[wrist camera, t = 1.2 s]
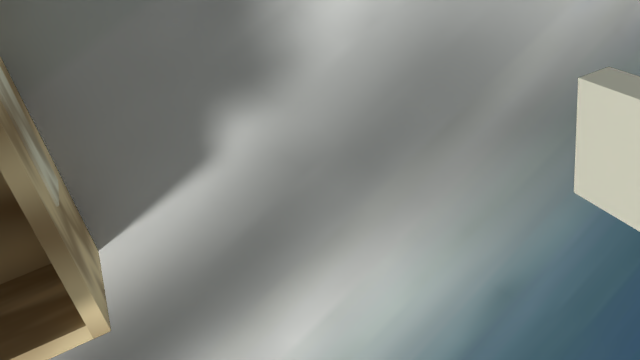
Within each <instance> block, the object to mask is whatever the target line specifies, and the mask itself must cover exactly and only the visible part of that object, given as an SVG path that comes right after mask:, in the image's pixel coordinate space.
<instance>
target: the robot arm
mask: <svg viewBox="0 0 640 360" xmlns="http://www.w3.org/2000/svg"><path fill="white" fill-rule="evenodd" d="M574 193H576V194H577V195H579V196H581V197H583V198H584V199H586V200H588V201H589V202H591V203H593V204H594V205H596V206H598V207H599V208H601V209H603V210H604V211H606V212H608V213H609V214H611V215H613V216H615V217H616V218H618V219H620V220H621V221H623V222H625V223H626V224H628V225H630V226H631V227H633V228H635V229H636V230H638V231H640V76H636V75H633V74H630V73H627V72H624V71H621V70H618V69H614V68H611V67H607V68H604V69H601V70H598V71H596V72H593V73H590V74H587V75H584V76H582V77H579V78H578V99H577V125H576V151H575V177H574Z"/></svg>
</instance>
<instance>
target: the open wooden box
mask: <svg viewBox="0 0 640 360" xmlns="http://www.w3.org/2000/svg"><path fill="white" fill-rule="evenodd" d="M110 331H111V328H110V321H109V315H108V309H107V303H106V296H105V290H104V284H103V278H102V271H101V265H100V259H99V253H98V250H97V248H96V246H95V244H94V242H93V240H92V238H91V236H90V234H89V232H88V230H87V228H86V226H85V224H84V222H83V220H82V218H81V216H80V214H79V212H78V210H77V208H76V206H75V204H74V202H73V200H72V198H71V196H70V194H69V192H68V190H67V188H66V186H65V184H64V182H63V180H62V178H61V176H60V174H59V172H58V170H57V168H56V166H55V164H54V162H53V160H52V158H51V156H50V154H49V152H48V150H47V148H46V146H45V144H44V142H43V140H42V138H41V136H40V134H39V132H38V130H37V128H36V126H35V124H34V122H33V120H32V118H31V116H30V114H29V112H28V110H27V108H26V106H25V105H24V103H23V101H22V99H21V97H20V95H19V93H18V91H17V89H16V87H15V85H14V83H13V81H12V79H11V77H10V75H9V73H8V71H7V69H6V67H5V65H4V63H3V61H2V59H1V57H0V360H48V359H50V358H52V357H55V356H57V355H59V354H61V353H64V352H66V351H68V350H70V349H72V348H75V347H77V346H79V345H81V344H83V343H86V342H88V341H90V340H92V339H94V338H97V337H99V336H101V335H103V334H106V333H108V332H110Z"/></svg>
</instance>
